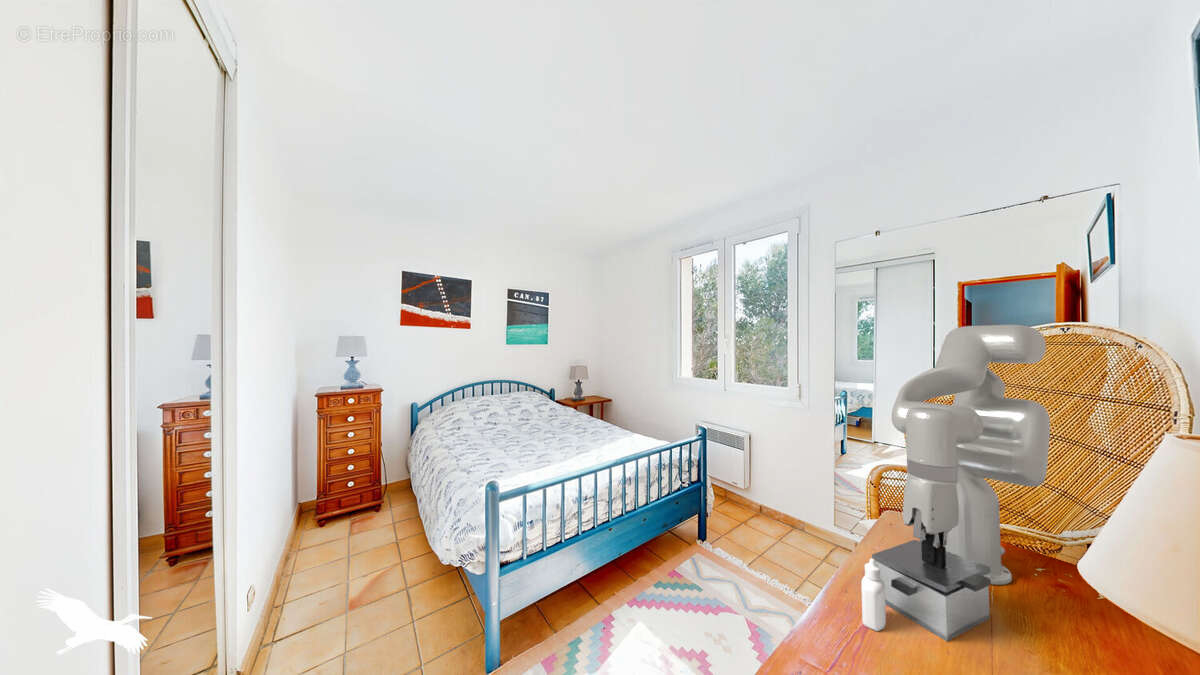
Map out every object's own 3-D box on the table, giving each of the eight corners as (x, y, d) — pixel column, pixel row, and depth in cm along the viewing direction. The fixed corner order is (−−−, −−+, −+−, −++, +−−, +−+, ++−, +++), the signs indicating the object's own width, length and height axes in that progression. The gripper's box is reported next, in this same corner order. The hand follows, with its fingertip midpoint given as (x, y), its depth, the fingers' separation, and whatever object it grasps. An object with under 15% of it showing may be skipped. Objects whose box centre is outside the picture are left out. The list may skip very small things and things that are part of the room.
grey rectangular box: (923, 578, 83) (922, 543, 83) (996, 615, 72) (994, 574, 72) (868, 601, 76) (867, 562, 76) (938, 645, 65) (937, 600, 65)
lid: (915, 544, 83) (914, 539, 83) (1004, 577, 69) (1004, 572, 69) (872, 559, 77) (871, 554, 78) (960, 599, 64) (959, 593, 64)
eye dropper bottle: (897, 628, 69) (895, 564, 69) (872, 633, 68) (870, 568, 68) (875, 611, 74) (873, 551, 74) (851, 616, 72) (850, 554, 73)
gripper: (931, 461, 80) (933, 547, 79) (886, 469, 74) (888, 562, 74) (977, 472, 73) (979, 566, 72) (931, 482, 67) (933, 584, 67)
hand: (933, 563), depth 73 cm, fingers closed
